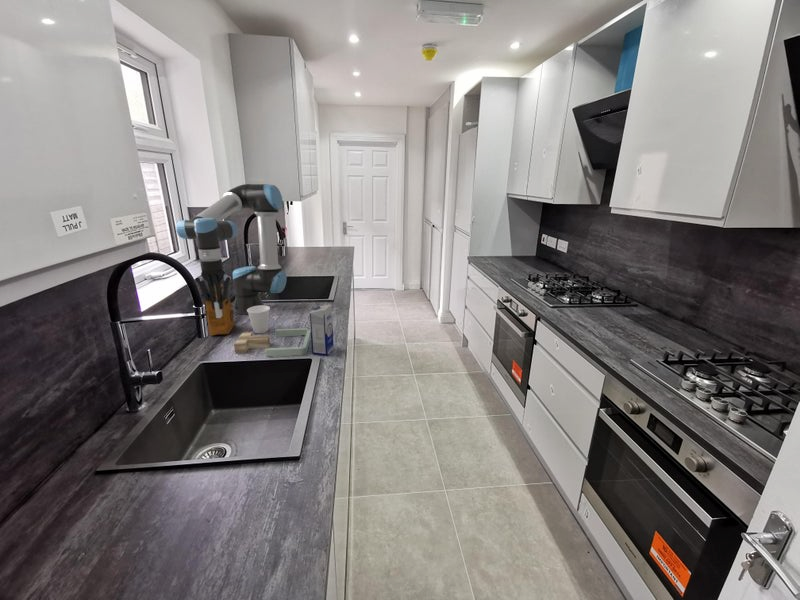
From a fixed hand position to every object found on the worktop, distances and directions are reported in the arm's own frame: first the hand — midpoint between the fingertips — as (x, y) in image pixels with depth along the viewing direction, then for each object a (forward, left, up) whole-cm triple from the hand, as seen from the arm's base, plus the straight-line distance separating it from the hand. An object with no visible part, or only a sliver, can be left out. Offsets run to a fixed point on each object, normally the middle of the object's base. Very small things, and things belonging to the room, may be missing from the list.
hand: (219, 316), depth 144 cm
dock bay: (0, +26, -14) cm, 30 cm away
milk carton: (+8, +41, -14) cm, 44 cm away
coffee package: (-18, -6, -14) cm, 24 cm away
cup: (-16, +11, -14) cm, 24 cm away
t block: (0, +12, -14) cm, 18 cm away
